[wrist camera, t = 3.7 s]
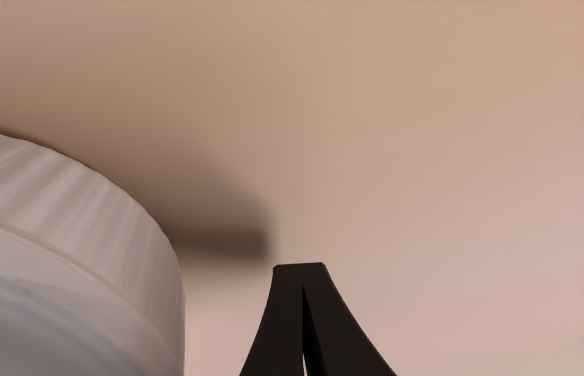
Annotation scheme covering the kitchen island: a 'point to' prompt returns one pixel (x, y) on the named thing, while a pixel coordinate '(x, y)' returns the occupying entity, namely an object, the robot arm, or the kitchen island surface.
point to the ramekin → (82, 274)
